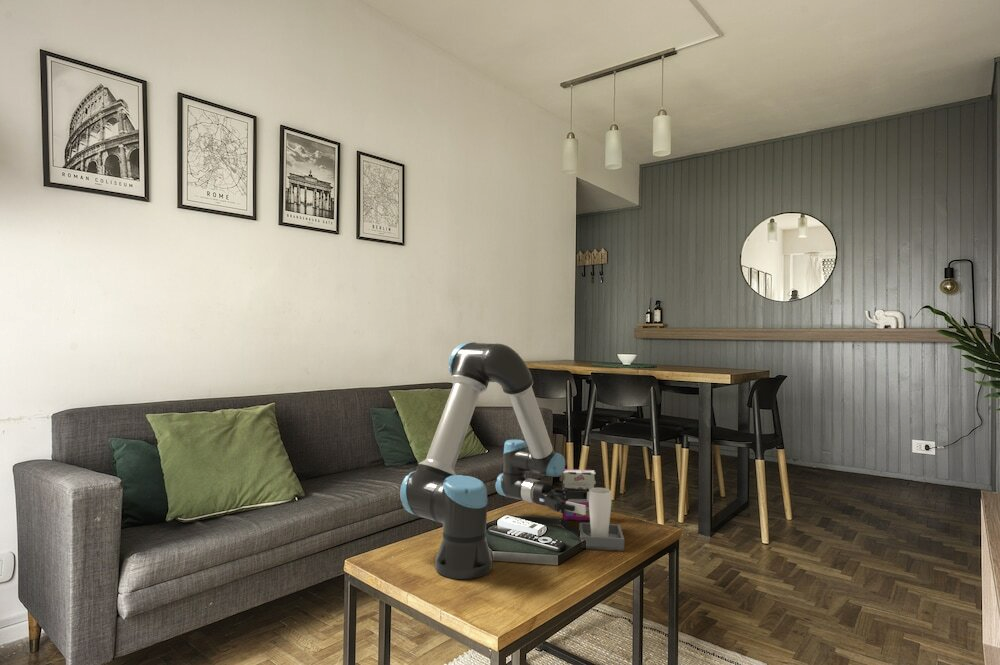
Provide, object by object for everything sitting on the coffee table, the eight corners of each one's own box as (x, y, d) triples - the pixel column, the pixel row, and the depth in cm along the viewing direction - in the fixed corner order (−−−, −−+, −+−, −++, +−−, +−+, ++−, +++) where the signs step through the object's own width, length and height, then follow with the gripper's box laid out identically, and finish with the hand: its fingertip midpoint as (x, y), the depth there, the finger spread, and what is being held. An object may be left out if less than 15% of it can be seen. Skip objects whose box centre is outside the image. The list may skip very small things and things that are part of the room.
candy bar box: (594, 517, 194) (595, 469, 194) (595, 521, 189) (596, 473, 189) (562, 515, 195) (563, 468, 195) (562, 520, 190) (563, 471, 190)
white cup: (609, 536, 173) (610, 487, 173) (611, 544, 166) (612, 494, 166) (587, 535, 174) (588, 486, 174) (588, 543, 167) (589, 493, 167)
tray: (580, 548, 165) (580, 536, 165) (579, 533, 177) (579, 522, 177) (624, 551, 163) (624, 539, 163) (619, 535, 176) (619, 524, 176)
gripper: (557, 495, 194) (613, 507, 182) (515, 512, 174) (575, 527, 162) (557, 473, 194) (613, 484, 182) (516, 488, 174) (576, 502, 162)
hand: (596, 505), depth 172 cm, fingers open, 13 cm apart
